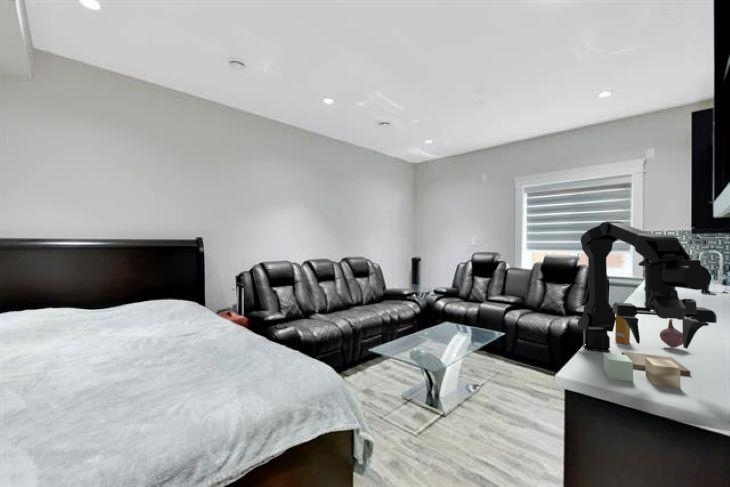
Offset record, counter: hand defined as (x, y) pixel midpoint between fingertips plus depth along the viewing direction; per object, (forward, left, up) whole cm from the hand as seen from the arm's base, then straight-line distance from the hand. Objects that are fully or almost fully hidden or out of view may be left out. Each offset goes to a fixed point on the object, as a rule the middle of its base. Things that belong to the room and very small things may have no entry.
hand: (661, 345), depth 81 cm
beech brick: (0, 0, -9) cm, 9 cm away
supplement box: (0, +37, -9) cm, 38 cm away
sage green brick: (-9, 0, -9) cm, 13 cm away
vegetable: (+13, +36, -9) cm, 39 cm away
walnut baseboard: (+2, +14, -9) cm, 17 cm away
